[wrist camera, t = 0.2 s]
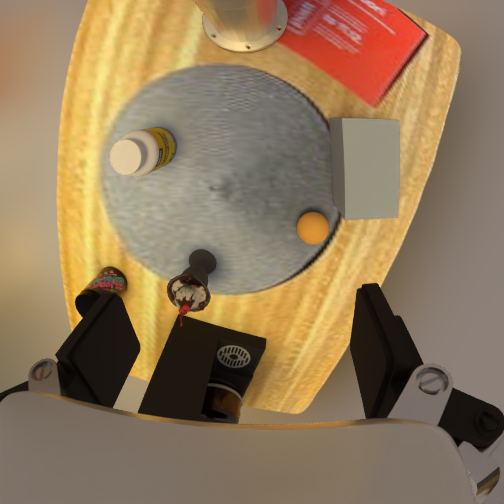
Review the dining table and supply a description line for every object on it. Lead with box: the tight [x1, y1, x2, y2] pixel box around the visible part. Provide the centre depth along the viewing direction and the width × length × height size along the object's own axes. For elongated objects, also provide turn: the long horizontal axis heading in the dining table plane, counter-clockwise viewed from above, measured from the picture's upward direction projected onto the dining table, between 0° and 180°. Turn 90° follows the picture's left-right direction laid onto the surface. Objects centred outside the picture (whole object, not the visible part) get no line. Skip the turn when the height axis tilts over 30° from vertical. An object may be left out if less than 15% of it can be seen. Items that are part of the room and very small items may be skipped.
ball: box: [297, 212, 329, 244], centre depth 44 cm, size 5×5×5 cm
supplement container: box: [75, 267, 127, 317], centre depth 50 cm, size 7×7×10 cm
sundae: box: [167, 250, 216, 326], centre depth 45 cm, size 7×7×15 cm
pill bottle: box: [110, 128, 176, 177], centre depth 38 cm, size 6×6×12 cm
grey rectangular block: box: [329, 118, 400, 220], centre depth 38 cm, size 13×8×9 cm, turn 6°
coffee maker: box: [138, 314, 266, 424], centre depth 48 cm, size 28×20×35 cm
